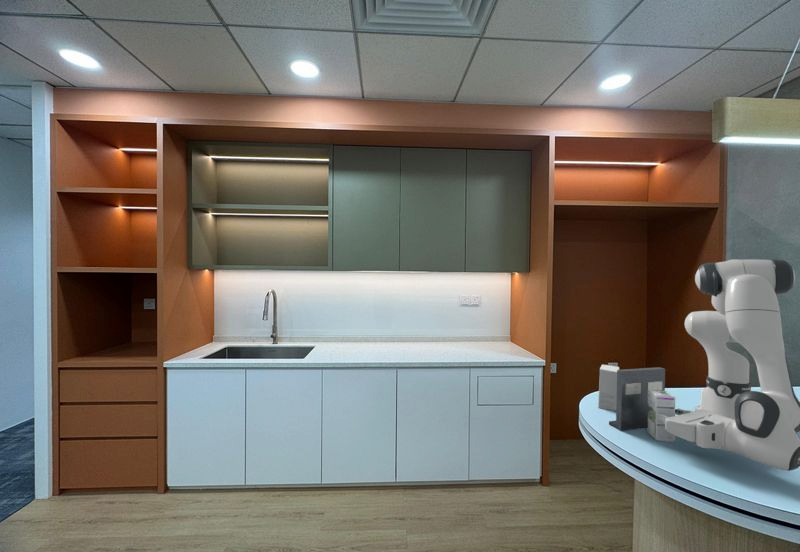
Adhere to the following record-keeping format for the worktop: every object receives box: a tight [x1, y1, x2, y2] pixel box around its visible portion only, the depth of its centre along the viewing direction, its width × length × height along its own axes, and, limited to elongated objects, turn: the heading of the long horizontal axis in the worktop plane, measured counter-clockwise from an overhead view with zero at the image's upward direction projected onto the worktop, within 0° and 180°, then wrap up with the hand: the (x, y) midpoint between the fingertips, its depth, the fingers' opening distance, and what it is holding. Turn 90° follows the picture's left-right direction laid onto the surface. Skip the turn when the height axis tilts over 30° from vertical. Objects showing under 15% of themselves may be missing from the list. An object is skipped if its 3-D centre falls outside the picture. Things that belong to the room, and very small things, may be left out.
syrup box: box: [647, 390, 676, 443], centre depth 115 cm, size 6×6×14 cm
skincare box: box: [597, 364, 620, 412], centre depth 141 cm, size 8×7×16 cm
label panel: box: [608, 366, 666, 432], centre depth 124 cm, size 18×5×20 cm, turn 103°
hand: (667, 413), depth 114 cm, fingers open, 8 cm apart
